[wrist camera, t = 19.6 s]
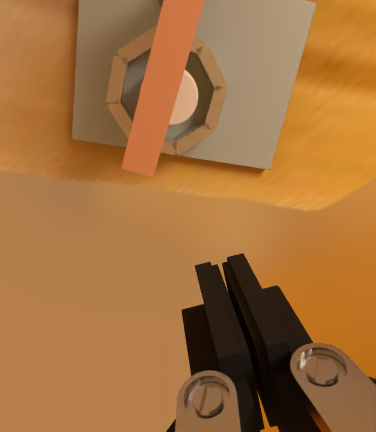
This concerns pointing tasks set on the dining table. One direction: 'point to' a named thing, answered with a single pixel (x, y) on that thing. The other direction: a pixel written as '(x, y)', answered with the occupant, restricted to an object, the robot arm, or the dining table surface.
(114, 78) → the socket
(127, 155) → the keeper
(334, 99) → the dining table surface
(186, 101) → the supplement bottle
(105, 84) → the board
